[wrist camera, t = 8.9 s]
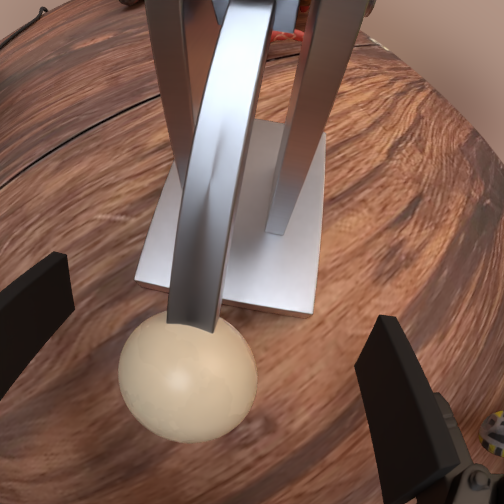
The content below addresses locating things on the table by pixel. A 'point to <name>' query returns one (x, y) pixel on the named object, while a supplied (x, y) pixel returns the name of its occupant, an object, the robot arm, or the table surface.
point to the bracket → (253, 155)
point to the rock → (305, 2)
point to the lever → (207, 250)
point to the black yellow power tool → (493, 433)
